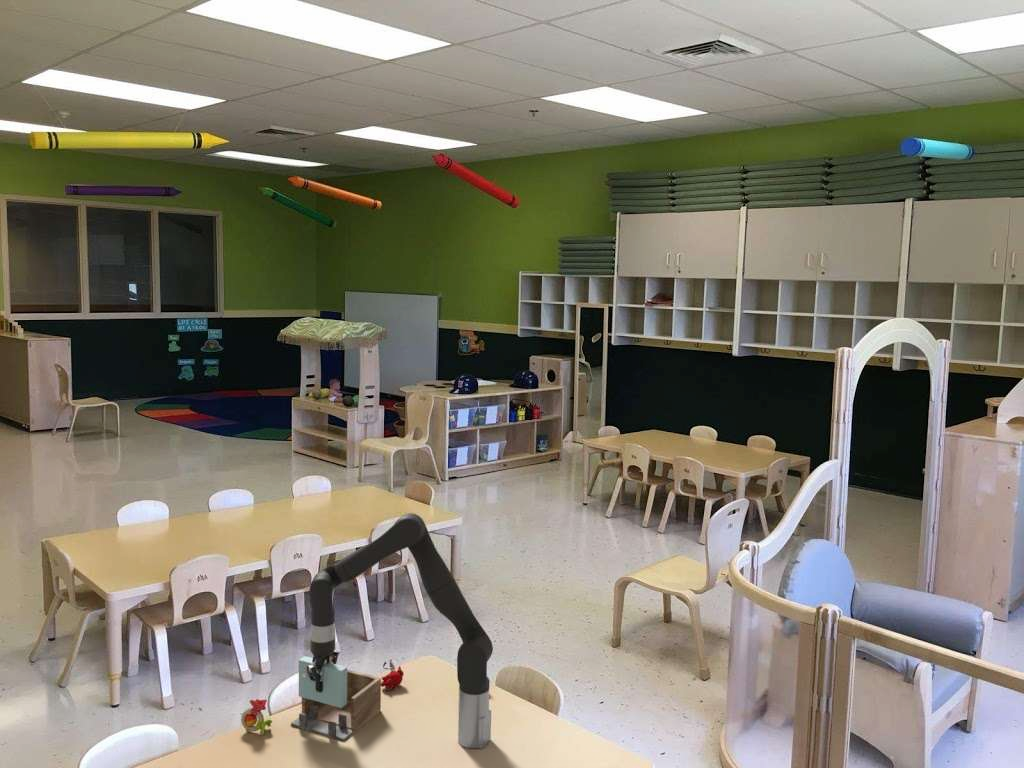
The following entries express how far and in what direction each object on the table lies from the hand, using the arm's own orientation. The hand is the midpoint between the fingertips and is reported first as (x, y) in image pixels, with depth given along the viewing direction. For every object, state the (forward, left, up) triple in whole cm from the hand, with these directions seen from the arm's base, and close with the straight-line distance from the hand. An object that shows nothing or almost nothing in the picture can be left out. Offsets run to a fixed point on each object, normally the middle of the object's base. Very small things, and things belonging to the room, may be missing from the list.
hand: (322, 688), depth 267 cm
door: (0, 0, -4) cm, 4 cm away
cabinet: (0, -7, -13) cm, 15 cm away
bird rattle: (+17, +11, -13) cm, 24 cm away
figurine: (-3, -35, -14) cm, 38 cm away
